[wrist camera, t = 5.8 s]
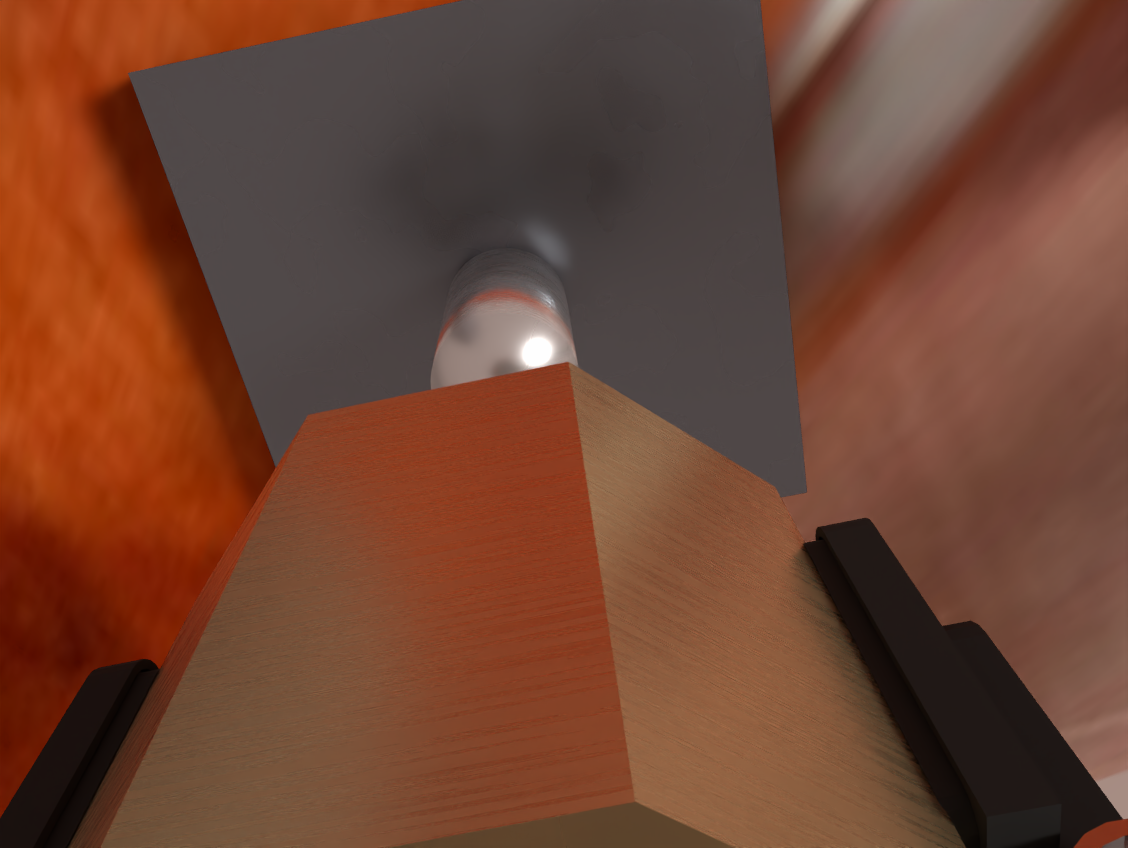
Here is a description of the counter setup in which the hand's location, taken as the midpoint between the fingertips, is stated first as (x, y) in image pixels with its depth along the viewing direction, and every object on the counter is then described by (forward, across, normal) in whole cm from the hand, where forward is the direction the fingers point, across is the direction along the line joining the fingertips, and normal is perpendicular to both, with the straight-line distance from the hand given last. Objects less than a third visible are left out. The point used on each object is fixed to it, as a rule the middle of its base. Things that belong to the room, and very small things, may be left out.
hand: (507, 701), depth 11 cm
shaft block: (+16, 0, 0) cm, 16 cm away
